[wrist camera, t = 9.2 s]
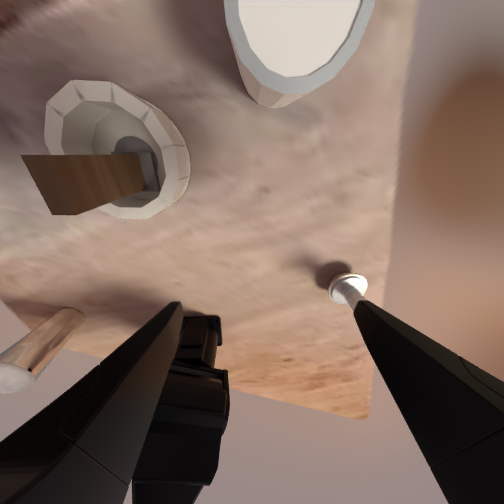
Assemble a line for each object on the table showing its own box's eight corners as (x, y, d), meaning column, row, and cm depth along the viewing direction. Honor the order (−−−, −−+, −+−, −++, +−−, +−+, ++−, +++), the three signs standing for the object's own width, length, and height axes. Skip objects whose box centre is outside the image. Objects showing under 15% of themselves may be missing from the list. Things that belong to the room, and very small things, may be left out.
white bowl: (196, 209, 19) (187, 220, 16) (106, 207, 18) (78, 219, 15) (182, 98, 14) (166, 82, 11) (64, 92, 14) (12, 74, 11)
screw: (333, 298, 26) (316, 279, 24) (363, 280, 25) (348, 258, 23) (402, 410, 15) (380, 389, 13) (466, 388, 13) (452, 362, 11)
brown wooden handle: (152, 152, 16) (68, 151, 8) (161, 190, 17) (96, 218, 10) (115, 151, 15) (-6, 149, 8) (126, 189, 17) (34, 218, 10)
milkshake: (73, 297, 24) (-25, 379, 15) (96, 323, 27) (24, 407, 18) (41, 302, 24) (-73, 387, 15) (68, 328, 27) (-17, 412, 18)
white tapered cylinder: (228, 111, 15) (218, 83, 9) (234, -18, 12) (223, -203, 6) (306, 123, 16) (347, 104, 10) (332, 3, 12) (418, -142, 6)
